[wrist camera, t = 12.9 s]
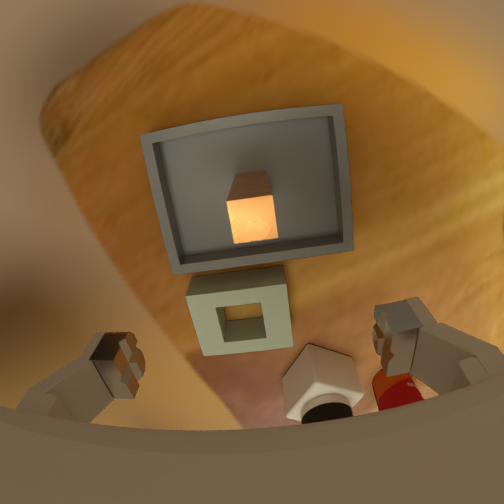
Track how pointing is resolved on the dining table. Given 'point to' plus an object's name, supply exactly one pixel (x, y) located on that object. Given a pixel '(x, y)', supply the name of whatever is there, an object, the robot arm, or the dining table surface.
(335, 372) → the medicine bottle
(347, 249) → the tray
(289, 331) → the socket block
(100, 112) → the dining table surface
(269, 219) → the pin
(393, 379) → the paper cup
